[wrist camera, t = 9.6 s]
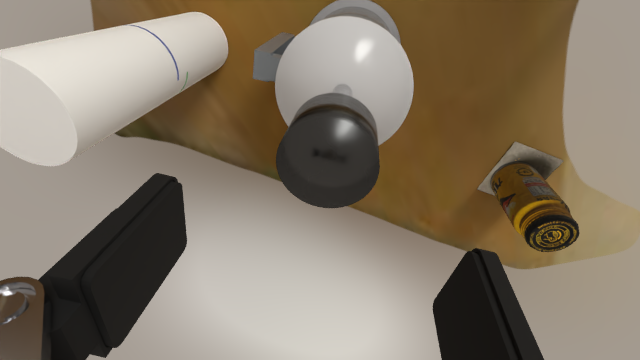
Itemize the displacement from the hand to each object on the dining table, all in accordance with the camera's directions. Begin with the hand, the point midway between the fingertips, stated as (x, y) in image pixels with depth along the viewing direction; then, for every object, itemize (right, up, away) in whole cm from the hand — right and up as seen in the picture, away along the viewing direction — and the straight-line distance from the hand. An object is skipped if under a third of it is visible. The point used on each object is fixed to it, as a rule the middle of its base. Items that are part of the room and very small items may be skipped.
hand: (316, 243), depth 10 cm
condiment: (+28, +3, +34) cm, 44 cm away
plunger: (+2, +9, +14) cm, 17 cm away
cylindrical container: (-15, +20, +30) cm, 39 cm away
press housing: (+3, +18, +28) cm, 33 cm away
